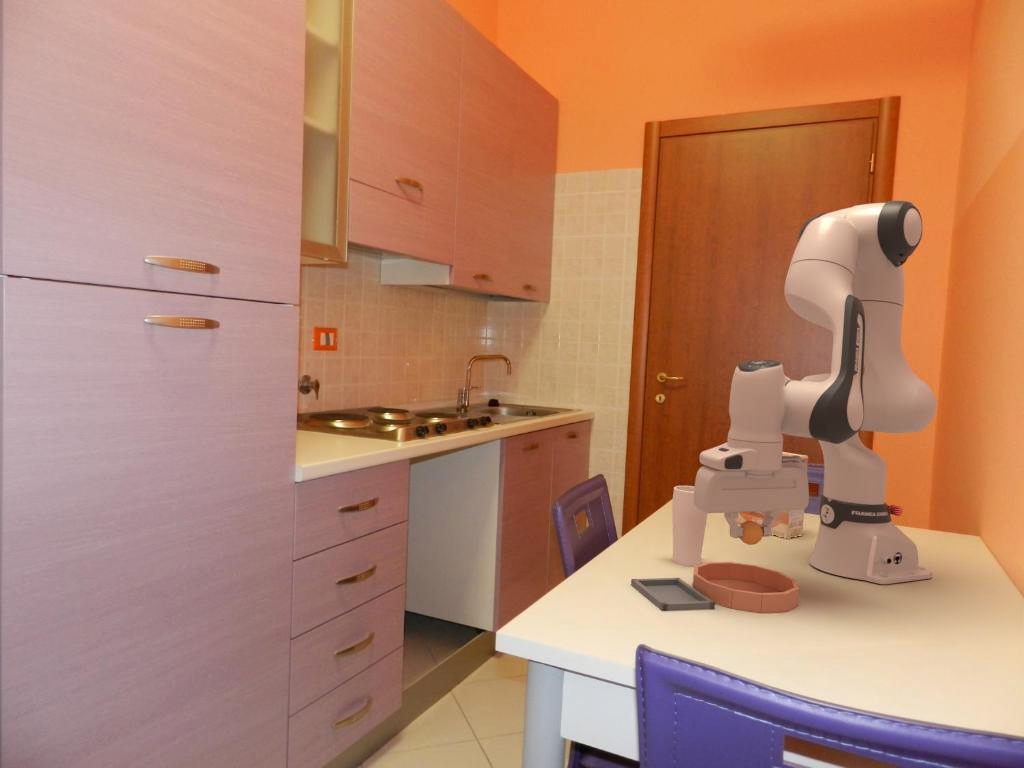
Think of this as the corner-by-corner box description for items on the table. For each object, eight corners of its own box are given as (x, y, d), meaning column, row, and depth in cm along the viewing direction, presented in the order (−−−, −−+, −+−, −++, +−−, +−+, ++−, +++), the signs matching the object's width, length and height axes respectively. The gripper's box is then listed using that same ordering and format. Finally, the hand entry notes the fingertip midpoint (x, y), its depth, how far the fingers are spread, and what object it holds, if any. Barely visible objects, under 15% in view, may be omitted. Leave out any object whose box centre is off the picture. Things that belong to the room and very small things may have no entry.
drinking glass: (705, 572, 129) (710, 493, 128) (669, 567, 130) (674, 490, 129) (702, 561, 135) (707, 487, 135) (668, 558, 137) (672, 484, 136)
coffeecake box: (731, 525, 169) (736, 447, 168) (748, 522, 173) (753, 446, 173) (786, 539, 157) (792, 456, 156) (803, 536, 161) (809, 455, 161)
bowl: (757, 579, 126) (758, 561, 125) (818, 614, 109) (820, 592, 109) (675, 582, 122) (676, 562, 121) (726, 618, 105) (727, 595, 105)
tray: (678, 586, 119) (678, 577, 119) (714, 612, 107) (714, 602, 107) (630, 588, 117) (631, 579, 117) (662, 614, 105) (662, 604, 105)
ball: (753, 540, 118) (754, 517, 118) (767, 547, 114) (768, 523, 114) (732, 541, 117) (733, 518, 117) (746, 548, 113) (747, 524, 113)
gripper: (795, 452, 120) (791, 529, 121) (690, 453, 115) (687, 533, 116) (819, 458, 114) (815, 539, 115) (710, 460, 109) (706, 544, 110)
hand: (750, 536), depth 116 cm, fingers closed on ball, 4 cm apart
